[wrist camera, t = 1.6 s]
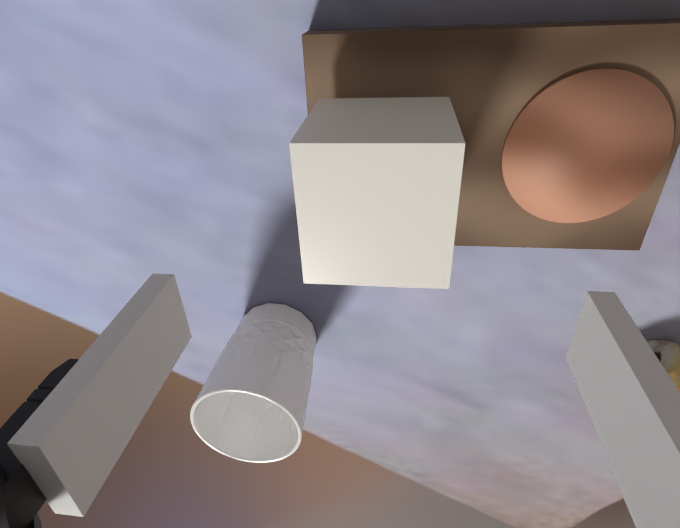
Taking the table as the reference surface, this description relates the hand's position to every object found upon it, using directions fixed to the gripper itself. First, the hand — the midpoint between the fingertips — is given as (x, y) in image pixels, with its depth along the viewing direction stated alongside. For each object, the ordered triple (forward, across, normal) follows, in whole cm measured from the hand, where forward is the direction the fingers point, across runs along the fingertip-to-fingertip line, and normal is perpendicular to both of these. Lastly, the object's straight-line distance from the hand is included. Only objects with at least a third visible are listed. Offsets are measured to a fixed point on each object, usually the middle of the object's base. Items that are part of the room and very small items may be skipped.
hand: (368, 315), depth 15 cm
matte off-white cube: (+14, 0, 0) cm, 14 cm away
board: (+17, +6, 0) cm, 18 cm away
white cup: (+18, -9, -17) cm, 26 cm away
